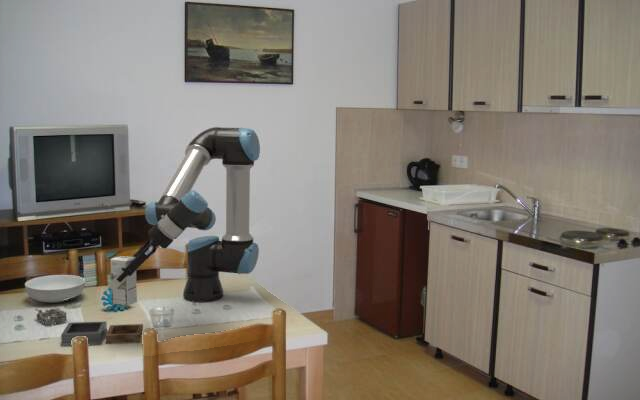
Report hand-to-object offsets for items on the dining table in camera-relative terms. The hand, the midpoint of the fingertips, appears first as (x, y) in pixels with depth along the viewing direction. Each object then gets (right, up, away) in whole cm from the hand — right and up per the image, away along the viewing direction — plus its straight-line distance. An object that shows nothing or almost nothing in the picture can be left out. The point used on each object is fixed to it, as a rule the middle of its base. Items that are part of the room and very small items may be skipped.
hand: (112, 283), depth 204 cm
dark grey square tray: (-9, -17, +1) cm, 19 cm away
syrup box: (+3, -6, +1) cm, 7 cm away
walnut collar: (+3, -17, +3) cm, 18 cm away
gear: (-8, -13, +32) cm, 35 cm away
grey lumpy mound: (-26, -15, +17) cm, 34 cm away
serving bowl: (-34, -11, +42) cm, 55 cm away
